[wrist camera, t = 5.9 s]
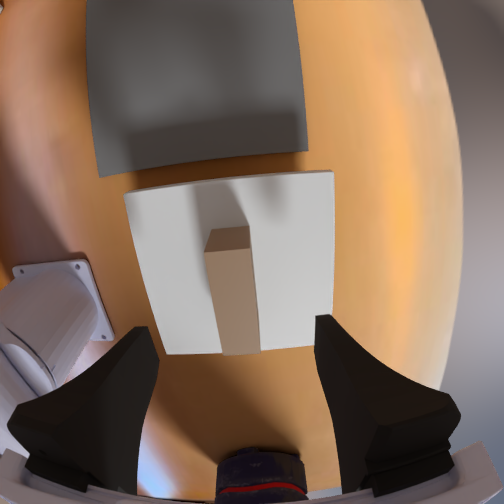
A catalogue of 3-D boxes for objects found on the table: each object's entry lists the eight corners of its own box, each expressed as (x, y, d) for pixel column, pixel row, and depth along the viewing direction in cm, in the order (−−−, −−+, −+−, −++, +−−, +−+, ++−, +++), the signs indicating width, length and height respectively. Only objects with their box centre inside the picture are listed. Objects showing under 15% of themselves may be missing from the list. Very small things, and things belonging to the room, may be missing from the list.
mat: (103, 176, 19) (99, 177, 18) (90, 2, 13) (86, 0, 13) (306, 150, 19) (308, 151, 18) (285, -35, 13) (286, -39, 12)
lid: (169, 346, 20) (157, 386, 17) (128, 191, 16) (98, 210, 12) (327, 335, 20) (340, 374, 16) (329, 169, 15) (352, 183, 12)
